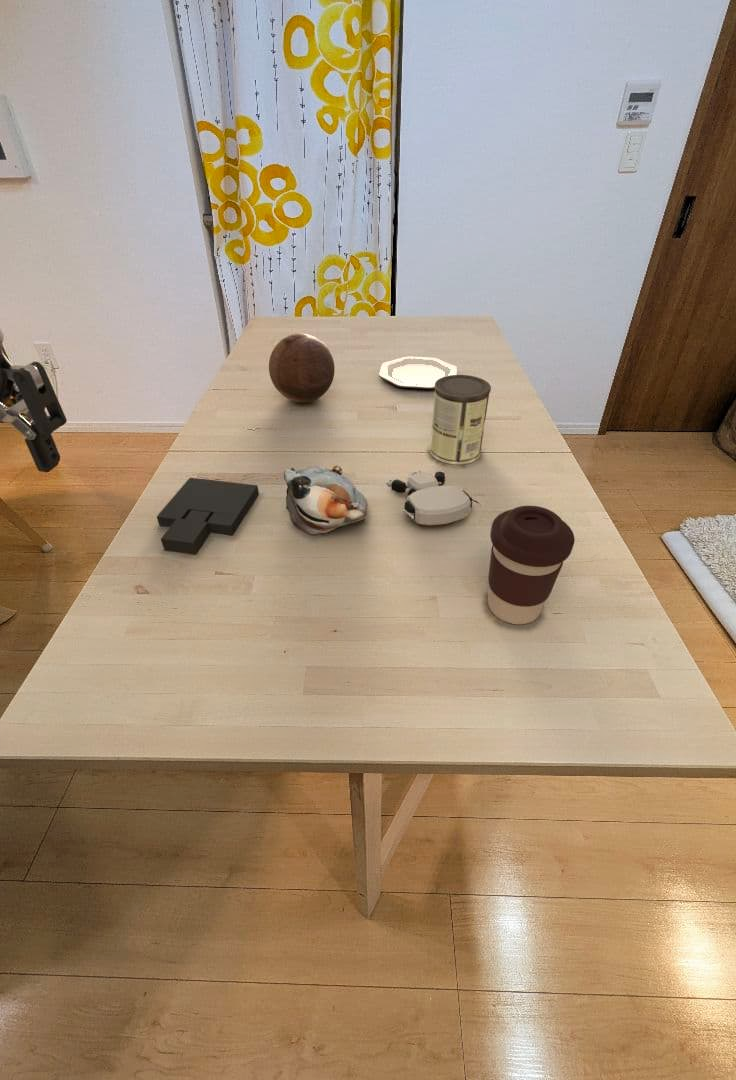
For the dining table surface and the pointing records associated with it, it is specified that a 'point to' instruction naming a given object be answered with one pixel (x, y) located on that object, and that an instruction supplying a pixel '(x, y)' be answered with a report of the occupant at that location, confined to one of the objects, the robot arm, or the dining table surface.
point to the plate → (415, 373)
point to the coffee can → (459, 418)
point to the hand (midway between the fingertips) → (11, 463)
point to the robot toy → (432, 498)
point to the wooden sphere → (301, 367)
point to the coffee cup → (525, 561)
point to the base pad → (211, 503)
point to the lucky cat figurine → (322, 499)
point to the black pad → (187, 533)
